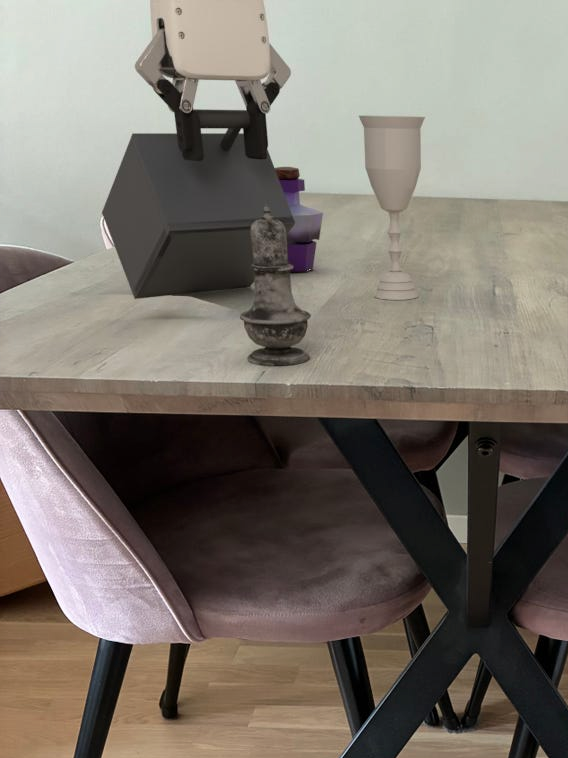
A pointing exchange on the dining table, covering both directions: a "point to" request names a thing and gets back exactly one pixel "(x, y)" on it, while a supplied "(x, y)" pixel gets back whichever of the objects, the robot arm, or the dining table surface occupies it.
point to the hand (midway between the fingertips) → (225, 157)
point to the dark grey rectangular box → (191, 209)
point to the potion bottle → (299, 222)
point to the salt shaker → (273, 298)
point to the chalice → (393, 185)
